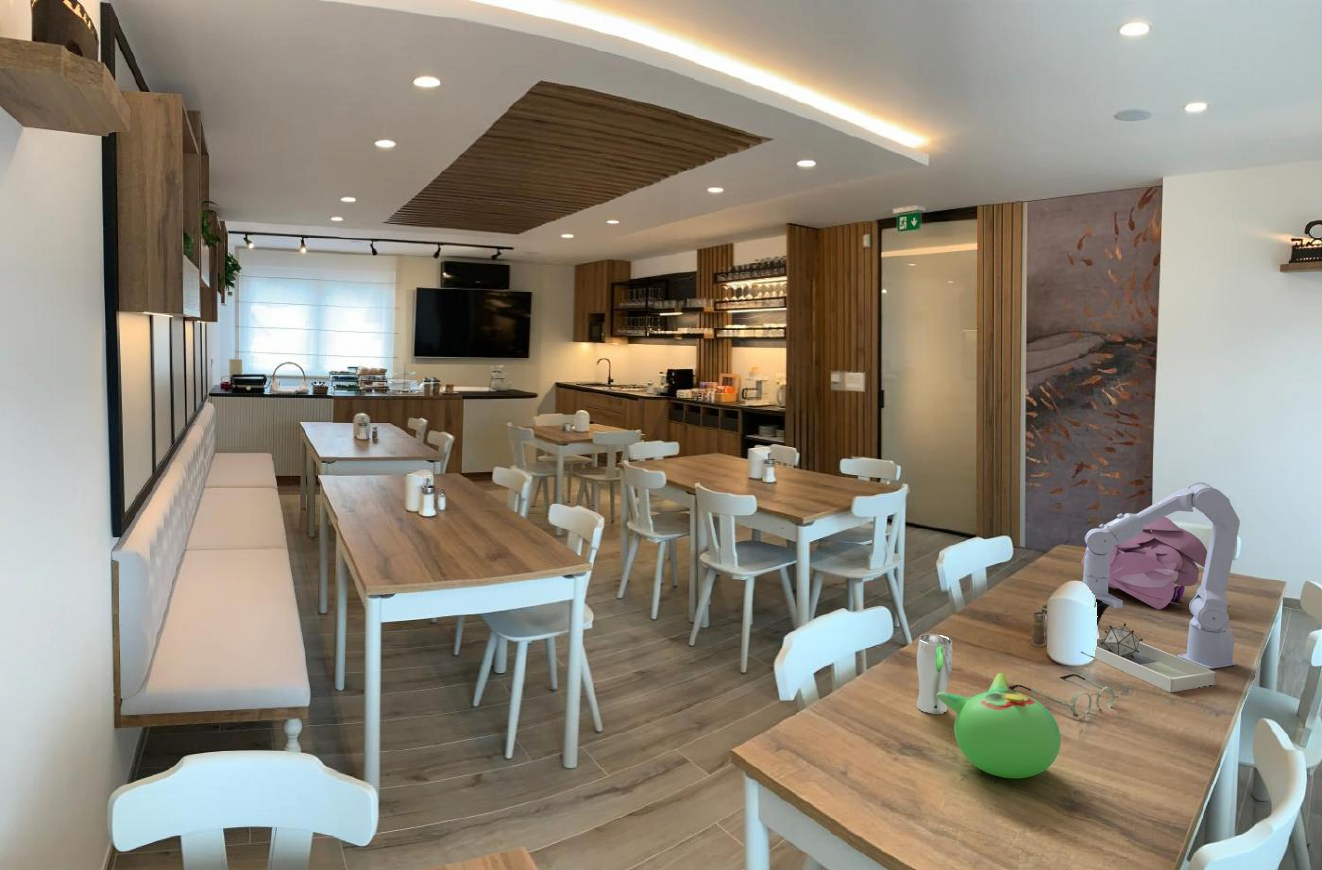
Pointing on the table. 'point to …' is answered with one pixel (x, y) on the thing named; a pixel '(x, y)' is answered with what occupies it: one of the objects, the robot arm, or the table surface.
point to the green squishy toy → (1004, 731)
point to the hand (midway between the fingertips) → (1092, 626)
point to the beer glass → (933, 671)
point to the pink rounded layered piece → (1157, 563)
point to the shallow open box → (1158, 668)
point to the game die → (1121, 641)
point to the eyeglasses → (1075, 696)
